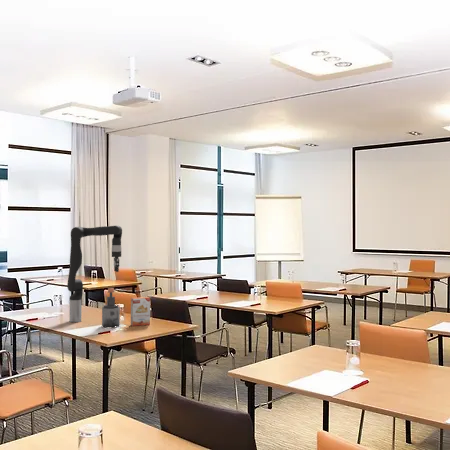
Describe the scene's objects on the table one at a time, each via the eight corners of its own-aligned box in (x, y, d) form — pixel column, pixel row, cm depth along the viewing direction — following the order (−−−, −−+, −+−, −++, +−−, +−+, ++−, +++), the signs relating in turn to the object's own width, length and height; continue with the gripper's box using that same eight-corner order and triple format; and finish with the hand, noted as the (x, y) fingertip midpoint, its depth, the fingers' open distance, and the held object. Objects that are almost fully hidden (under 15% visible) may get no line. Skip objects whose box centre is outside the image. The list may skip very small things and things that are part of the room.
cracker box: (132, 326, 400) (132, 298, 401) (130, 325, 406) (130, 297, 406) (150, 324, 407) (150, 297, 407) (147, 323, 412) (147, 296, 412)
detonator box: (101, 325, 406) (101, 296, 406) (118, 324, 410) (118, 295, 410) (103, 329, 389) (103, 299, 390) (121, 328, 394) (121, 298, 394)
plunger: (107, 303, 403) (107, 288, 403) (113, 303, 405) (113, 287, 405) (108, 304, 399) (108, 288, 399) (114, 304, 401) (114, 288, 401)
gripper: (110, 250, 423) (110, 271, 423) (112, 251, 410) (112, 272, 409) (120, 250, 426) (119, 270, 425) (122, 251, 412) (122, 272, 412)
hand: (116, 271), depth 417 cm, fingers open, 8 cm apart
